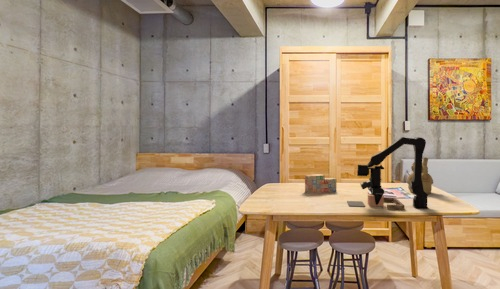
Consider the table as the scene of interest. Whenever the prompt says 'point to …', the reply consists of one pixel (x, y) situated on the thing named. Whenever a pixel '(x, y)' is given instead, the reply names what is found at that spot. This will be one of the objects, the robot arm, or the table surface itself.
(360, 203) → the charcoal mat
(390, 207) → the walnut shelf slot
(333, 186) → the stack of blocks
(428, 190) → the ceramic vessel
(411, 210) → the table surface
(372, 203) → the terracotta blank
